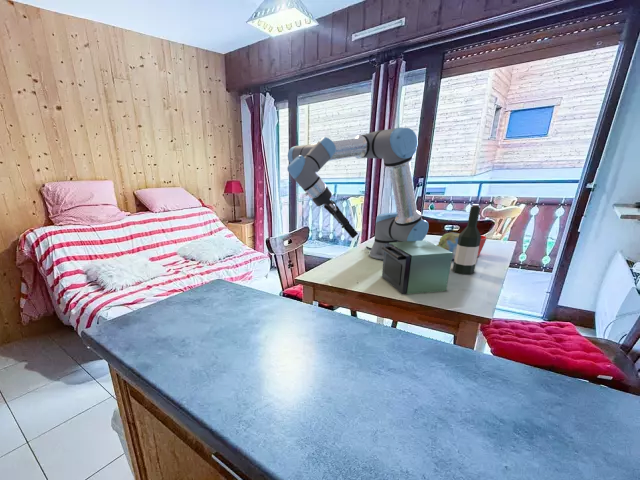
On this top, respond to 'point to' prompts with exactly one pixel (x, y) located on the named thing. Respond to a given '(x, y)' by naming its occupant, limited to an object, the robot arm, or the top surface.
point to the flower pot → (481, 244)
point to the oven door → (396, 267)
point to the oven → (426, 266)
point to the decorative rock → (449, 242)
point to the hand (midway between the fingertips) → (354, 235)
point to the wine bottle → (468, 244)
